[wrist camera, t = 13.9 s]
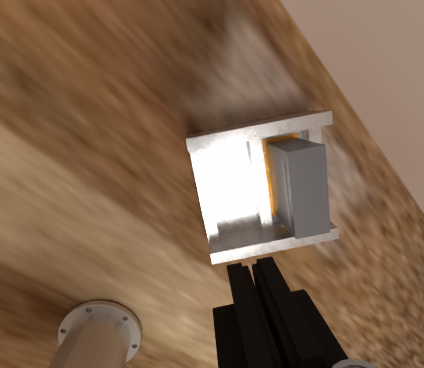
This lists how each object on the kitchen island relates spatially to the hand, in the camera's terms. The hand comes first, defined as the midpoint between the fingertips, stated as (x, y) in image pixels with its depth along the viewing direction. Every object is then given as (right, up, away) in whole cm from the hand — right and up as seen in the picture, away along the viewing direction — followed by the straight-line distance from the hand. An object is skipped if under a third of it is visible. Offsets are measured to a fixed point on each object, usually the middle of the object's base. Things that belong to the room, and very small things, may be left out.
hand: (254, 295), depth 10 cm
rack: (+5, +5, +27) cm, 28 cm away
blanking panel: (+8, +5, +26) cm, 28 cm away
